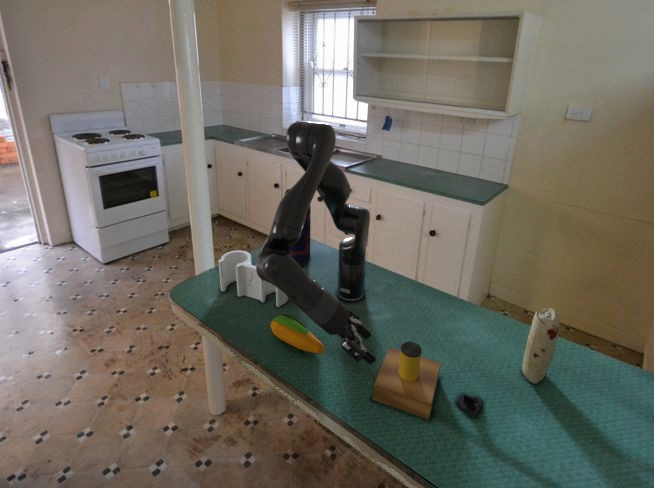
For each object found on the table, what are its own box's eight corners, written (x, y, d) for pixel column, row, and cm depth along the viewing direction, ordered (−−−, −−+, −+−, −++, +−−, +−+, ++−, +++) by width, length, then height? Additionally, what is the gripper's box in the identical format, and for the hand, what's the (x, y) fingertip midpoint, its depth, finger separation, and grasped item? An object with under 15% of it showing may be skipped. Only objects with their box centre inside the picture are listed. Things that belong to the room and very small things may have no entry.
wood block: (388, 361, 113) (389, 347, 111) (438, 377, 108) (440, 362, 107) (372, 399, 101) (374, 384, 99) (429, 419, 96) (431, 404, 94)
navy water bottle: (298, 271, 155) (298, 199, 145) (274, 262, 161) (272, 192, 150) (318, 256, 167) (319, 188, 156) (295, 248, 172) (294, 182, 162)
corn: (280, 303, 124) (333, 331, 113) (282, 323, 127) (333, 351, 116) (263, 317, 118) (316, 347, 107) (265, 337, 121) (317, 368, 110)
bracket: (294, 293, 142) (293, 263, 138) (280, 309, 133) (279, 277, 129) (234, 276, 151) (232, 247, 146) (218, 290, 142) (215, 260, 138)
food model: (545, 391, 105) (562, 329, 98) (517, 380, 108) (532, 319, 101) (548, 367, 113) (565, 308, 106) (523, 357, 116) (537, 299, 109)
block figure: (462, 384, 103) (485, 394, 101) (461, 391, 104) (483, 401, 101) (455, 401, 99) (479, 412, 96) (454, 408, 99) (477, 419, 97)
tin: (403, 363, 106) (405, 338, 103) (421, 371, 104) (424, 346, 101) (394, 375, 102) (397, 350, 99) (413, 384, 100) (417, 359, 97)
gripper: (339, 320, 88) (387, 361, 92) (335, 283, 101) (378, 320, 106) (314, 340, 89) (363, 379, 94) (314, 301, 103) (357, 337, 107)
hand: (371, 348), depth 100 cm, fingers open, 8 cm apart
